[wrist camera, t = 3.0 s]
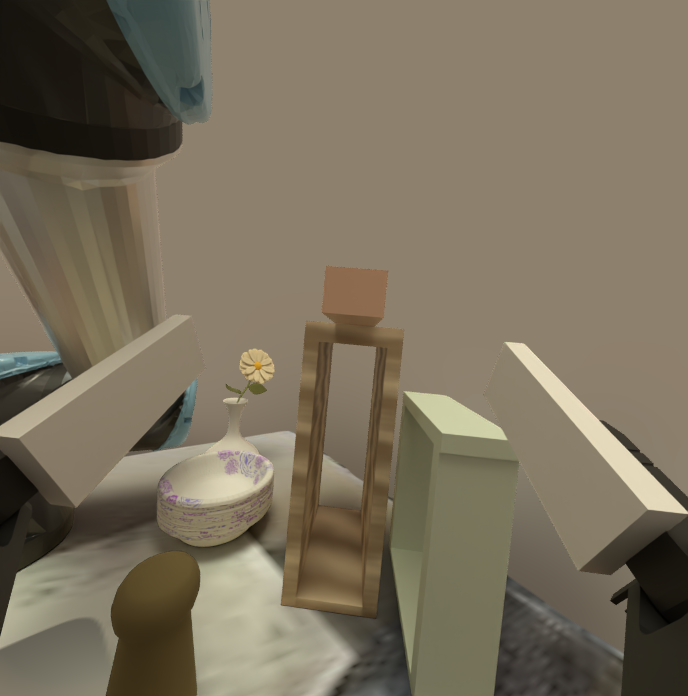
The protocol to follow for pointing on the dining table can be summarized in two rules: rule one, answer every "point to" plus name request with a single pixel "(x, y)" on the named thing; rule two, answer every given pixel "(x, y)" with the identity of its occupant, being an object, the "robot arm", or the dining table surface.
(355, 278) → the salmon orange bar
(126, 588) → the cork
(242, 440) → the flower in vase
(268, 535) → the dining table surface
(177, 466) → the paper bowls
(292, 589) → the birch stand
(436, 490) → the pale green rectangular frame
